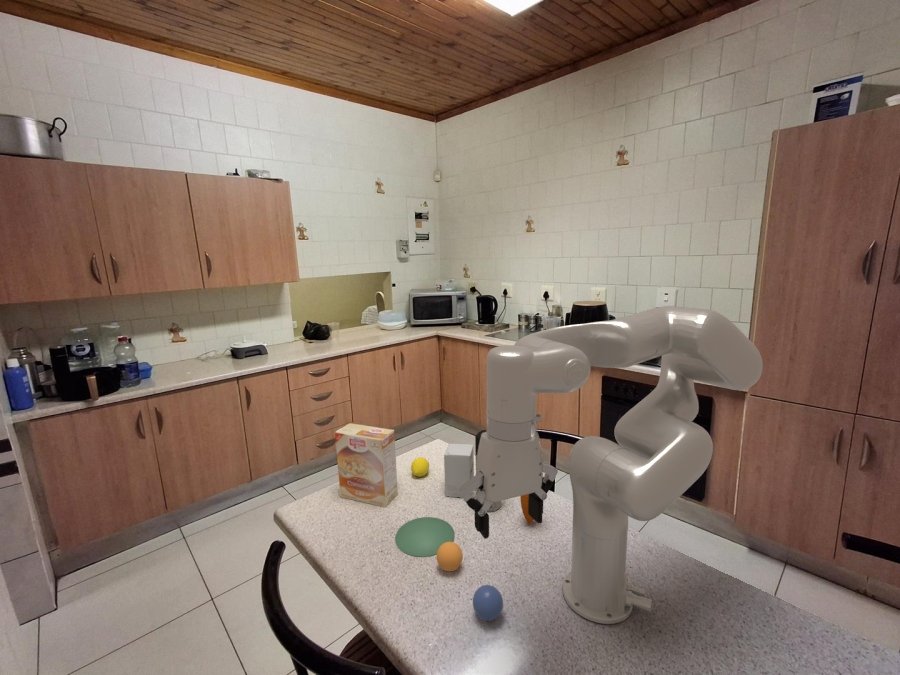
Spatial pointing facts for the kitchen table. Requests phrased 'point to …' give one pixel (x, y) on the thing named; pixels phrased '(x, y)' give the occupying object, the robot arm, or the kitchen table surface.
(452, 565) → the object ball
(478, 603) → the blue ball
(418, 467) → the lemon
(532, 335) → the robot arm
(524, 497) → the carrot
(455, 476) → the supplement box
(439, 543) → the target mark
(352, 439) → the coffeecake box
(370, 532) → the kitchen table surface
